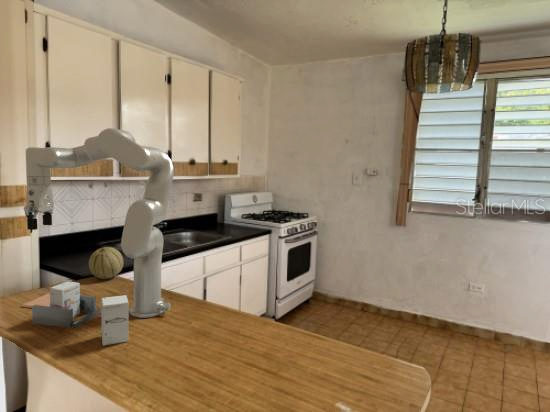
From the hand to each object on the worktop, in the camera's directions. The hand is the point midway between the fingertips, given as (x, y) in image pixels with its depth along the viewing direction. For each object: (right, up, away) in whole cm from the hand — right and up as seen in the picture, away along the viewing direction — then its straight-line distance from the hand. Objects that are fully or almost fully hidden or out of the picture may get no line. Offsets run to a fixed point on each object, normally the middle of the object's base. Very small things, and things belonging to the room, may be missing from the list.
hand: (40, 227), depth 137 cm
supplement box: (+38, -34, -23) cm, 56 cm away
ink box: (+15, -31, -10) cm, 36 cm away
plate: (+2, -29, +3) cm, 29 cm away
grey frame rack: (+15, -31, -10) cm, 36 cm away
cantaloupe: (+8, -26, +35) cm, 45 cm away
